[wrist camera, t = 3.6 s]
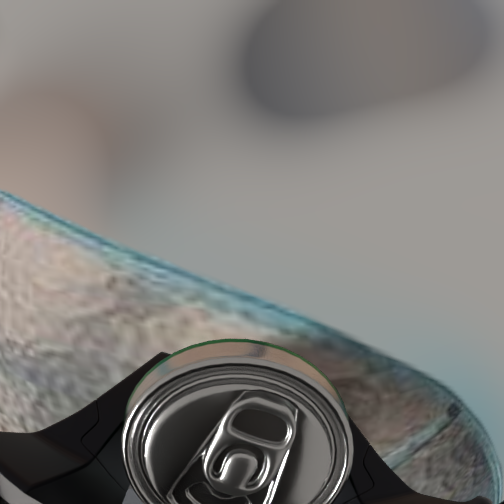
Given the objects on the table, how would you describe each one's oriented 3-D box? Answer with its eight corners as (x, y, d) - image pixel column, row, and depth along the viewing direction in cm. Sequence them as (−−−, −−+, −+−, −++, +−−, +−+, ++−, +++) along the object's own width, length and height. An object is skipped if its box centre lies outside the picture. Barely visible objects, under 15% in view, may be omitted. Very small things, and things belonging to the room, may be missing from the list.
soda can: (177, 407, 14) (78, 491, 3) (210, 336, 16) (162, 286, 5) (255, 439, 13) (303, 566, 2) (287, 368, 15) (407, 382, 4)
